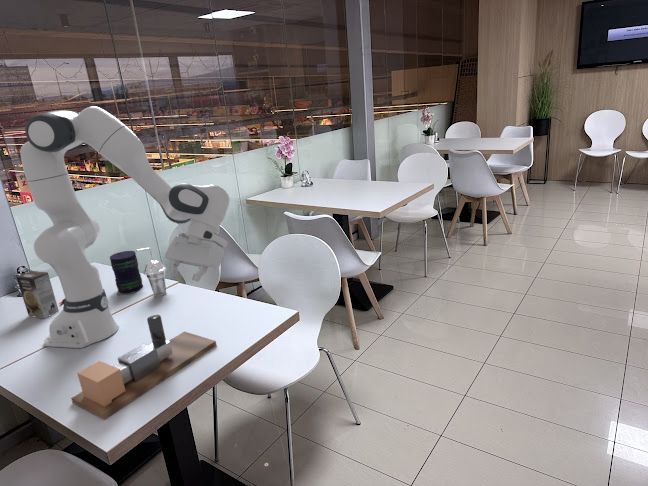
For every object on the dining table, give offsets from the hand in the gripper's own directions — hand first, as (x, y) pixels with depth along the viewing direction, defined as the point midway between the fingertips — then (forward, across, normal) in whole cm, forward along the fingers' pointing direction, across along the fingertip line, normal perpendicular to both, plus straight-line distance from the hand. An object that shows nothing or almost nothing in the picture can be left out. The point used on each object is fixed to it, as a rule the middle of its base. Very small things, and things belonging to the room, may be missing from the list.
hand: (183, 278), depth 137 cm
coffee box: (+23, -71, +8) cm, 75 cm away
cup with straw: (+3, -41, +30) cm, 51 cm away
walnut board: (+28, +1, 0) cm, 28 cm away
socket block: (+35, +1, -11) cm, 37 cm away
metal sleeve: (+28, +1, -2) cm, 28 cm away
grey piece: (+28, +1, -4) cm, 29 cm away
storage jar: (+4, -58, +30) cm, 65 cm away
